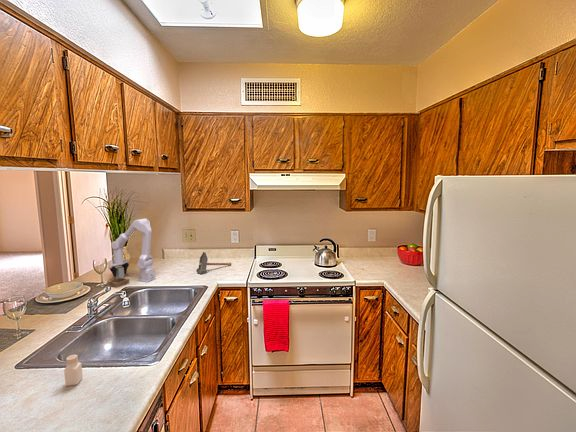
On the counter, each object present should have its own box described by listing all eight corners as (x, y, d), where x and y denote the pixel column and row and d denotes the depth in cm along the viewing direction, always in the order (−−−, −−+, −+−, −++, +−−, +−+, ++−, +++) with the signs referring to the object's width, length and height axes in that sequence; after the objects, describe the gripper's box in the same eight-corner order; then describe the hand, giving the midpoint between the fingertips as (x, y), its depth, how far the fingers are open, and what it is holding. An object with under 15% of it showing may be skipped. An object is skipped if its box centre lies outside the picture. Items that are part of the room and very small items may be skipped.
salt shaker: (64, 386, 100) (62, 361, 99) (71, 379, 104) (68, 354, 103) (77, 385, 101) (75, 359, 100) (83, 377, 105) (81, 353, 104)
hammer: (234, 253, 243) (203, 252, 220) (231, 272, 242) (200, 273, 220) (229, 252, 247) (199, 251, 224) (227, 271, 246) (196, 272, 223)
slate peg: (124, 277, 213) (123, 267, 212) (119, 279, 210) (118, 268, 209) (120, 277, 215) (120, 266, 214) (115, 278, 211) (114, 268, 210)
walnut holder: (129, 283, 202) (129, 279, 202) (116, 287, 194) (116, 283, 193) (120, 281, 206) (120, 277, 206) (107, 285, 197) (107, 281, 197)
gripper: (124, 254, 219) (125, 271, 220) (105, 258, 206) (106, 277, 207) (130, 255, 216) (131, 272, 217) (111, 259, 203) (113, 278, 204)
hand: (119, 275), depth 212 cm, fingers open, 7 cm apart
